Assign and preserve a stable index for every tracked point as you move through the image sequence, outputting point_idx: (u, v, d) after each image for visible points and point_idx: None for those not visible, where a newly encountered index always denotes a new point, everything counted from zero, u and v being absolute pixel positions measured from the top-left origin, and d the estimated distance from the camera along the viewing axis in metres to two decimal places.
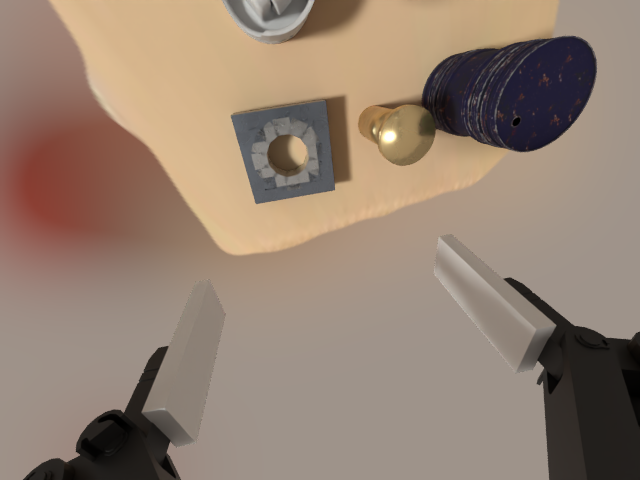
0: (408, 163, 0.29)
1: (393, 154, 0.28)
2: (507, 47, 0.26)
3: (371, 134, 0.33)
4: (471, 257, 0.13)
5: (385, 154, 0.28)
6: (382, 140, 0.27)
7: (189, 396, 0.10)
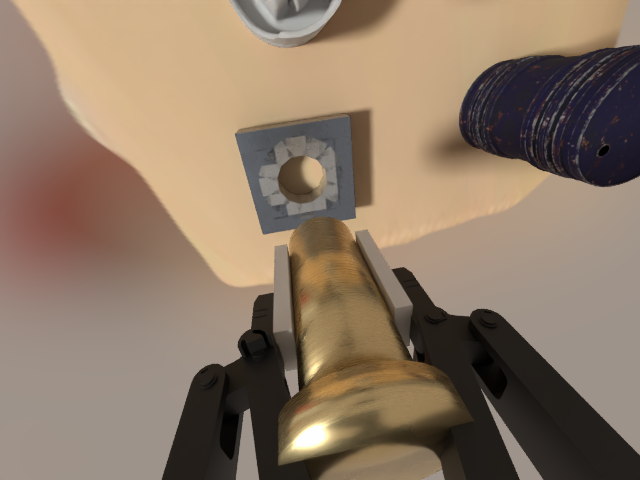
0: None
1: (424, 468, 0.09)
2: (590, 55, 0.20)
3: None
4: (373, 249, 0.14)
5: (418, 479, 0.09)
6: None
7: None
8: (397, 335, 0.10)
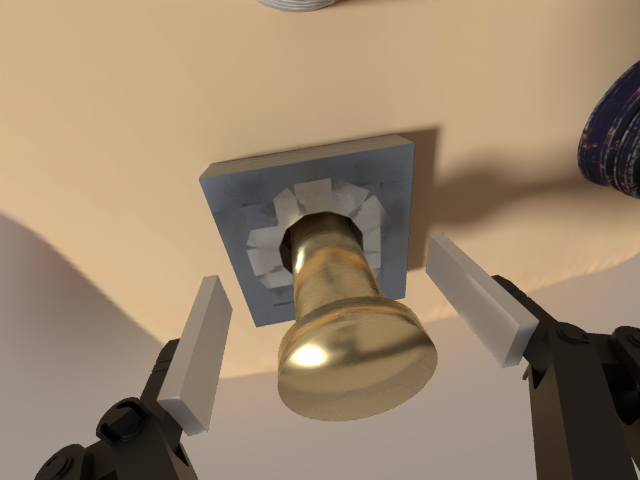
0: (433, 361, 0.10)
1: (398, 393, 0.11)
2: None
3: None
4: (460, 255, 0.13)
5: (394, 405, 0.11)
6: (359, 417, 0.11)
7: (201, 386, 0.10)
8: (378, 289, 0.12)
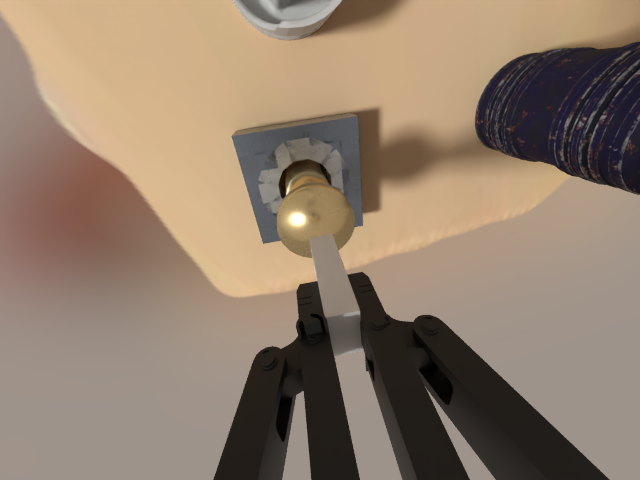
0: (352, 216, 0.20)
1: (338, 239, 0.21)
2: (634, 46, 0.18)
3: None
4: (334, 254, 0.14)
5: None
6: None
7: None
8: None
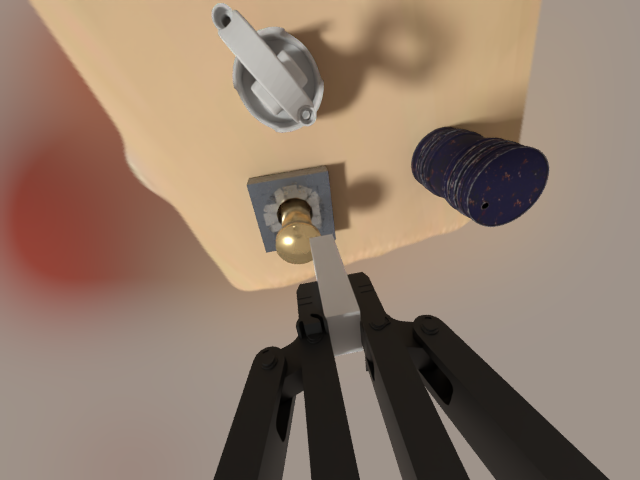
0: None
1: None
2: (478, 142, 0.31)
3: None
4: (334, 254, 0.14)
5: None
6: (302, 263, 0.35)
7: None
8: (308, 222, 0.35)
